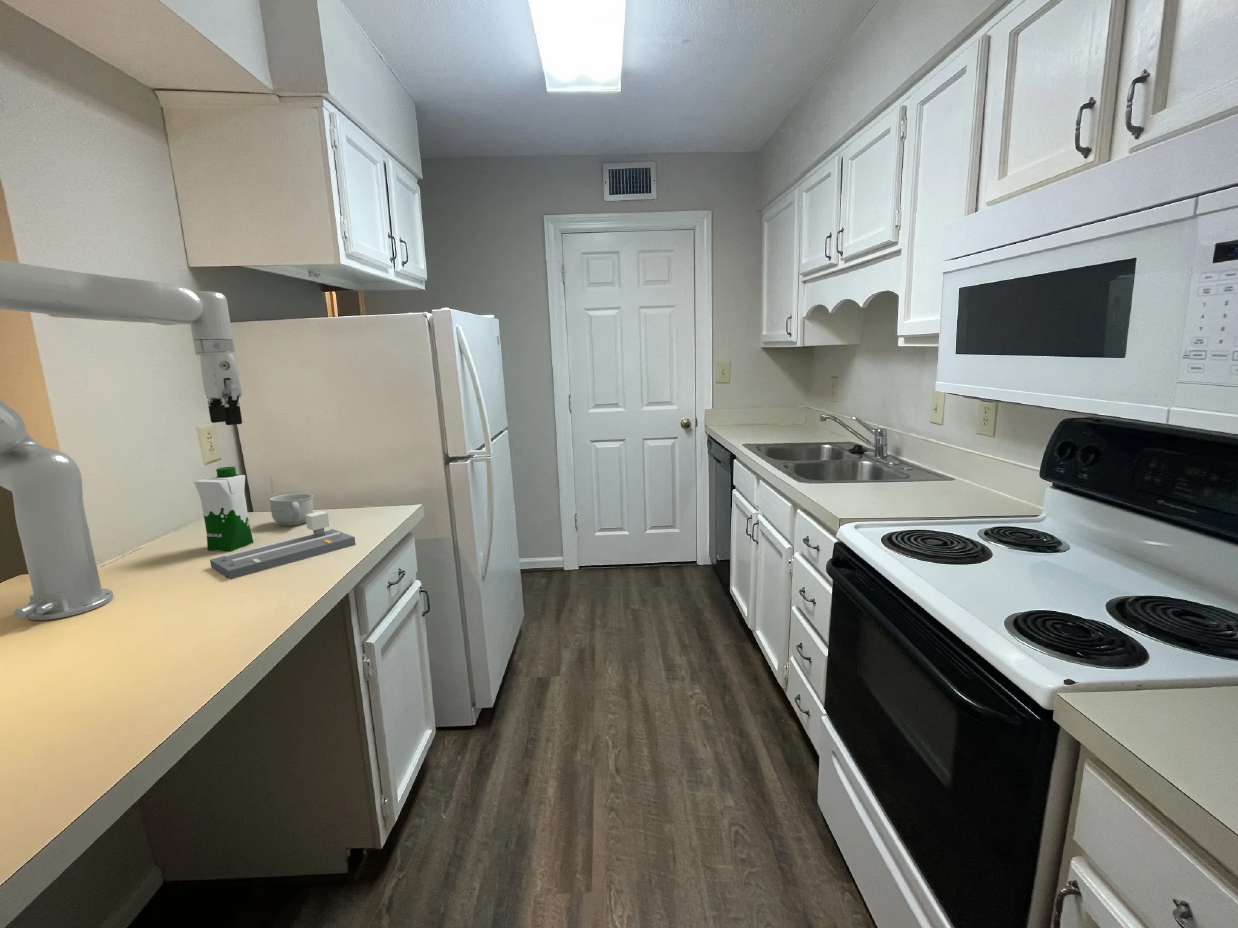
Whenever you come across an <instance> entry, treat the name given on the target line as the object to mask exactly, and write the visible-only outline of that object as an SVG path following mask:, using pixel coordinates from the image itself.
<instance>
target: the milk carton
mask: <svg viewBox="0 0 1238 928" xmlns="http://www.w3.org/2000/svg"><path fill="white" fill-rule="evenodd" d="M215 471H216V475H213V476H209V477H204V478H202V479H199V480H194V481H193V483H194V485H195V488H196V490H197V493H198V495H199V498H200V503H201V507H202V514H203V519H204V526H205V531H206V542H207V544H206V546H207V551H212V552H227V553H228V552H229V553H232V552H233V551H235V550H238V549H241V548H244V547H246V546H248V545H251V544H254V537H253V533H252V530H251V525H250V521H249V520H250V519H249V514H248V508H247V502H246V500H247V499H246V496H245V483H246V475H245V474H237V470H236V466H225V467H224V466H223V467H218V468H216V470H215Z"/></svg>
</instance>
